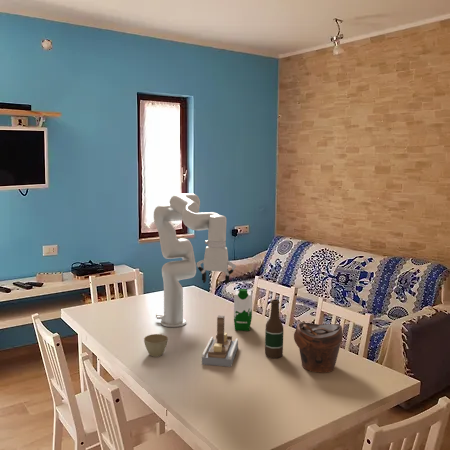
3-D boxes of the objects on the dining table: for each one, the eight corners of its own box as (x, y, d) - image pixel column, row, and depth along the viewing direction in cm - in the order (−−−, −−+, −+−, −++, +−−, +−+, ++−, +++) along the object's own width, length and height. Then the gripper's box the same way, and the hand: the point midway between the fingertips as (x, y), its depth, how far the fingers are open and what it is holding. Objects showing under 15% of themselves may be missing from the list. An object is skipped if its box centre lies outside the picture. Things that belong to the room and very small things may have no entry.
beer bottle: (284, 352, 208) (286, 298, 205) (280, 359, 201) (282, 303, 198) (267, 350, 211) (268, 296, 207) (262, 357, 203) (263, 301, 200)
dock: (201, 364, 195) (201, 354, 195) (211, 345, 215) (211, 336, 214) (231, 366, 194) (231, 356, 193) (237, 347, 213) (238, 338, 213)
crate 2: (219, 341, 209) (219, 334, 209) (220, 338, 212) (220, 332, 212) (225, 341, 209) (226, 335, 208) (226, 339, 211) (227, 332, 211)
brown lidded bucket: (284, 361, 199) (286, 319, 197) (324, 354, 207) (327, 314, 205) (307, 380, 183) (310, 334, 181) (350, 372, 191) (353, 328, 188)
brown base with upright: (225, 358, 194) (225, 324, 192) (207, 357, 195) (208, 323, 193) (231, 341, 213) (232, 310, 211) (216, 339, 214) (216, 309, 212)
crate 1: (213, 353, 196) (213, 346, 196) (214, 350, 199) (214, 343, 199) (220, 353, 196) (220, 346, 195) (222, 350, 199) (222, 343, 198)
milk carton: (232, 331, 234) (233, 290, 231) (234, 324, 243) (235, 285, 240) (251, 331, 233) (252, 291, 230) (252, 325, 242) (252, 286, 239)
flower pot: (139, 357, 202) (139, 340, 201) (151, 348, 211) (151, 332, 210) (161, 360, 198) (161, 344, 197) (172, 351, 208) (172, 335, 207)
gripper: (195, 244, 204) (193, 283, 207) (235, 247, 201) (233, 287, 204) (199, 241, 211) (197, 279, 214) (238, 243, 208) (236, 282, 211)
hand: (215, 282), depth 209 cm, fingers open, 9 cm apart
